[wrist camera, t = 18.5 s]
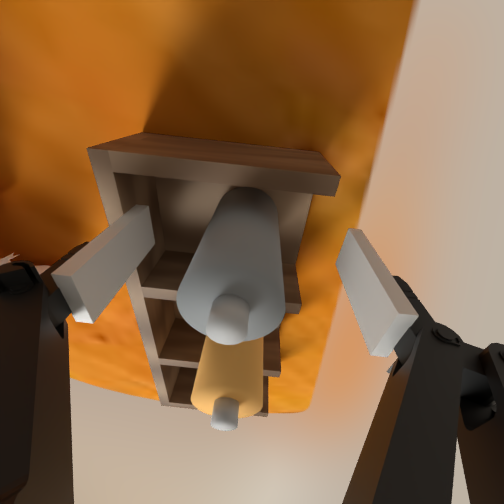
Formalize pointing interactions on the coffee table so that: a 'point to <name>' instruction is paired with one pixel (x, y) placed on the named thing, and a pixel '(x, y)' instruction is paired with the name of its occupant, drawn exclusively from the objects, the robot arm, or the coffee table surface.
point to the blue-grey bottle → (236, 271)
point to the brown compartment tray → (200, 232)
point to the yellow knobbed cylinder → (229, 382)
